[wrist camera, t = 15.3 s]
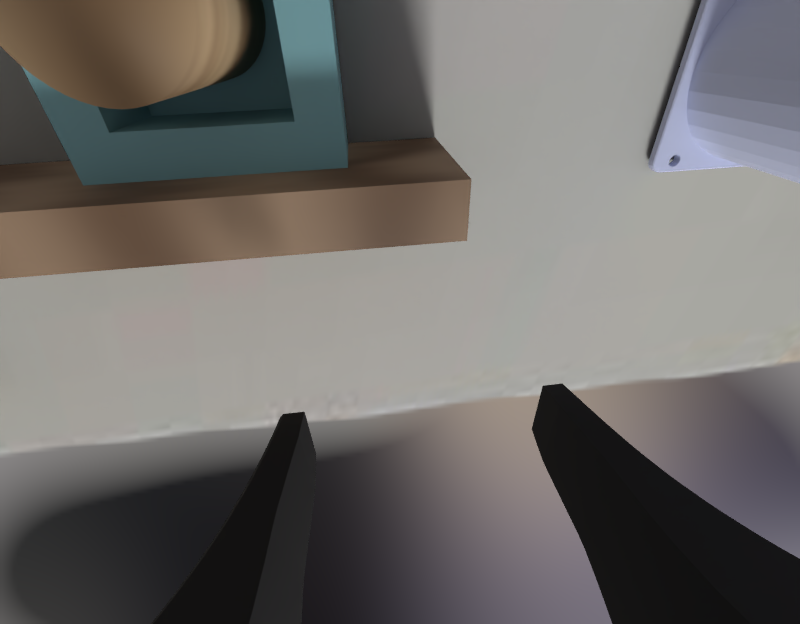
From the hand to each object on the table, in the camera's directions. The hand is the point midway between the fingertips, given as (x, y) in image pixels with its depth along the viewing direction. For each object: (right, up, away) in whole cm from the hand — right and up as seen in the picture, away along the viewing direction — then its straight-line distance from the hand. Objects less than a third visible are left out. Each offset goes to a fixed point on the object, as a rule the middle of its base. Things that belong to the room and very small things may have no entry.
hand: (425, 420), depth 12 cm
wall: (-9, +9, +5) cm, 14 cm away
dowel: (-7, +13, +1) cm, 15 cm away
